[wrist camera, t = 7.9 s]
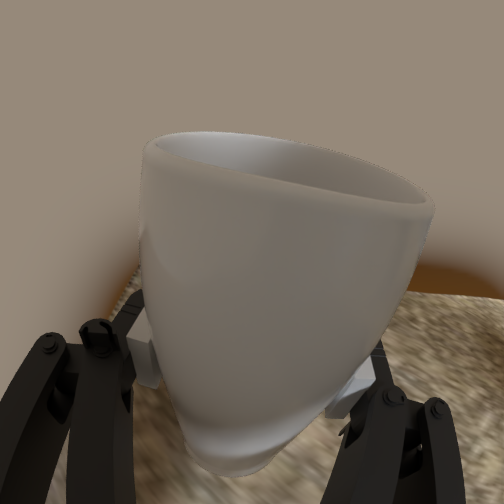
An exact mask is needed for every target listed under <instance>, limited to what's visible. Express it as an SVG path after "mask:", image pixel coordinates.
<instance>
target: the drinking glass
mask: <svg viewBox="0 0 504 504" xmlns="http://www.w3.org/2000/svg"><path fill="white" fill-rule="evenodd" d="M140 185H141V186H140V201H139V258H140V273H141V283H142V292H143V300H144V306H145V312H146V317H147V322H148V327H149V332H150V336H151V339H152V343H153V347H154V351H155V354H156V358H157V361H158V364H159V368H160V371H161V374H162V377H163V380H164V383H165V386H166V389H167V392H168V395H169V398H170V401H171V404H172V407H173V409H174V412H175V415H176V418H177V420H178V423H179V426H180V429H181V431H182V434H183V440H184V444H185V447H186V449H187V451H188V453H189V455H190V456H191V458H192V459H193V460H194V461H195V462H196V463H197V464H198V465H199V466H200V467H202V468H203V469H205V470H207V471H208V472H211V473H213V474H216V475H219V476H224V477H243V476H248V475H251V474H254V473H256V472H258V471H260V470H261V469H263V468H264V467H265V466H267V465H268V464H269V463H270V462H271V461H272V459H273V458H274V457H275V456H276V455H277V454H278V453H279V452H280V451H281V450H282V449H283V448H285V447H286V446H287V445H288V444H289V443H290V442H291V441H292V440H293V439H294V438H295V437H297V436H298V435H299V434H300V433H301V432H302V431H303V430H304V429H305V428H306V427H307V426H308V425H309V424H310V423H311V422H312V421H313V420H314V419H315V418H316V417H317V416H318V415H319V414H320V413H321V412H322V411H323V410H324V409H325V408H326V407H327V406H328V405H329V404H330V403H331V402H332V401H333V400H334V399H335V398H336V397H337V395H338V394H339V393H340V392H341V391H342V390H343V389H344V388H345V387H346V385H347V384H348V383H349V382H350V381H351V379H352V378H353V377H354V376H355V375H356V373H357V372H358V371H359V369H360V368H361V367H362V365H363V364H364V363H365V361H366V360H367V359H368V357H369V356H370V354H371V353H372V351H373V350H374V348H375V347H376V345H377V344H378V342H379V340H380V339H381V337H382V335H383V334H384V332H385V330H386V329H387V327H388V325H389V323H390V322H391V320H392V318H393V316H394V314H395V312H396V310H397V308H398V306H399V304H400V302H401V300H402V298H403V296H404V294H405V292H406V289H407V287H408V285H409V282H410V280H411V278H412V275H413V273H414V270H415V268H416V265H417V263H418V260H419V257H420V254H421V252H422V249H423V246H424V243H425V240H426V237H427V234H428V231H429V228H430V225H431V222H432V219H433V216H434V213H435V205H434V202H433V200H432V199H431V197H430V196H429V195H428V194H427V193H426V192H425V191H424V190H423V189H421V188H420V187H418V186H417V185H415V184H414V183H412V182H410V181H409V180H407V179H405V178H403V177H401V176H399V175H397V174H395V173H393V172H391V171H389V170H386V169H384V168H382V167H379V166H377V165H375V164H372V163H369V162H366V161H364V160H361V159H358V158H355V157H352V156H349V155H346V154H343V153H340V152H336V151H333V150H329V149H326V148H322V147H317V146H314V145H309V144H305V143H301V142H296V141H291V140H285V139H280V138H273V137H267V136H260V135H252V134H242V133H229V132H182V133H173V134H167V135H162V136H159V137H156V138H154V139H152V140H150V141H149V142H148V143H147V144H146V145H145V147H144V149H143V160H142V172H141V184H140Z"/></svg>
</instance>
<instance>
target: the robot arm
mask: <svg viewBox="0 0 504 504" xmlns="http://www.w3.org/2000/svg"><path fill="white" fill-rule="evenodd" d="M79 334H80V336H81V339H82V342H83V344H70V343H66V341H65V339H64V338H63V336H62V335H60V334H59V333H54V332H50V333H46V334H44V335H42V336H40V338H39V339H38V340H37V341H36V342H35V344H34V346H33V347H32V348H31V350H30V351H29V353H28V355H27V356H26V358H25V359H24V361H23V363H22V364H21V366H20V367H19V369H18V371H17V372H16V374H15V376H14V378H13V379H12V381H11V383H10V384H9V386H8V388H7V390H6V392H5V394H4V395H3V398H2V399H1V401H0V504H45V501H46V498H47V494H48V490H49V487H50V484H51V480H52V477H53V474H54V471H55V468H56V465H57V462H58V459H59V456H60V453H61V450H62V447H63V445H64V442H65V439H66V437H67V434H68V431H69V429H70V434H69V444H68V456H67V475H66V504H136V496H135V484H134V468H133V387H132V384H133V382H134V380H135V378H137V381H138V384H140V385H143V386H146V387H149V388H152V389H156V390H157V388H158V385H159V383H160V380H161V378H162V374H161V371H160V368H159V364H158V361H157V358H156V354H155V351H154V347H153V343H152V339H151V336H150V332H149V327H148V322H147V317H146V312H145V306H144V300H143V292H142V289H140V290H138V291H136V292H135V293H133V294H132V295H131V296H130V297H129V298H128V300H127V301H126V303H125V305H123V307H122V308H121V311H119V313H118V314H117V316H116V317H115V318H114V320H113V321H112V322H110V321H108V320H105V319H92V320H90V321H87V322H86V323H85V324H83V325H82V326H81V328H80V330H79ZM349 412H350V418H351V421H350V422H349V423H348V424H347V425H346V426H345V427H344V428H343V429H342V430H341V431H340V433H339V435H338V436H341V435H342V434H343V433H344V436H343V439H342V442H341V446H340V449H339V452H338V455H337V459H336V462H335V465H334V468H333V470H332V473H331V476H330V479H329V482H328V484H327V487H326V490H325V492H324V495H323V497H322V500H321V502H320V504H466V498H465V487H464V478H463V471H462V464H461V458H460V452H459V447H458V441H457V437H456V432H455V427H454V423H453V419H452V415H451V411H450V408H449V406H448V404H447V403H446V402H445V401H444V400H442V399H441V398H437V397H433V398H430V399H429V400H427V401H426V402H425V403H424V404H423V403H419V402H416V401H412V400H409V399H407V397H406V395H405V393H404V392H403V391H402V390H401V389H400V388H399V387H397V386H395V385H394V382H393V379H392V375H391V372H390V368H389V365H388V361H387V358H386V355H385V351H384V350H383V345H382V342H381V339H380V340H379V342H378V344H377V345H376V347H375V348H374V350H373V351H372V353H371V354H370V356H369V357H368V359H367V360H366V361H365V363H364V364H363V365H362V367H361V368H360V369H359V371H358V372H357V373H356V375H355V376H354V377H353V378H352V379H351V381H350V382H349V383H348V384H347V385H346V387H345V388H344V389H343V390H342V391H341V392H340V393H339V394H338V395H337V397H336V398H335V399H334V400H333V401H332V402H331V403H330V404H329V405H328V406H327V407H326V408H325V418H331V419H344V418H345V417H346V415H347V414H348V413H349ZM421 444H422V448H421Z"/></svg>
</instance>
